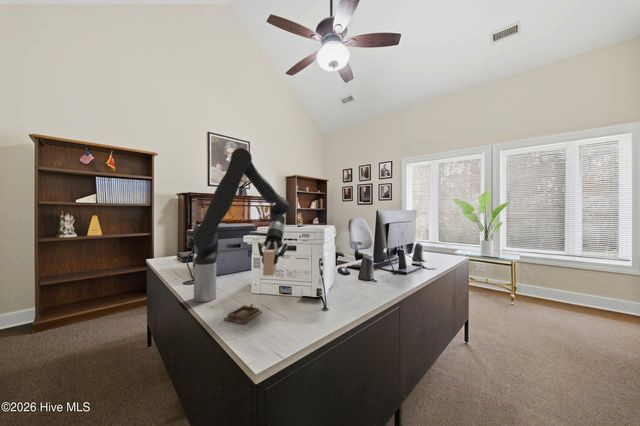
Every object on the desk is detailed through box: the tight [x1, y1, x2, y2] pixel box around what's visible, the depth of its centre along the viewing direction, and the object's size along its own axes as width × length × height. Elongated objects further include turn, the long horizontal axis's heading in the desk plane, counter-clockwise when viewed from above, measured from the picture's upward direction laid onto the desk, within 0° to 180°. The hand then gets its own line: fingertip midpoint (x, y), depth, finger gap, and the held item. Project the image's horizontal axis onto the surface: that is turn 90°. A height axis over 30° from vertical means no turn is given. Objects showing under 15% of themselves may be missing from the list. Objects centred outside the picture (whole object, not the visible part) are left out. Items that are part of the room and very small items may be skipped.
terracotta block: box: [262, 249, 277, 276], centre depth 104 cm, size 4×6×10 cm, turn 179°
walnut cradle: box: [223, 303, 263, 326], centre depth 96 cm, size 10×12×3 cm
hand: (269, 263), depth 103 cm, fingers closed on terracotta block, 4 cm apart
